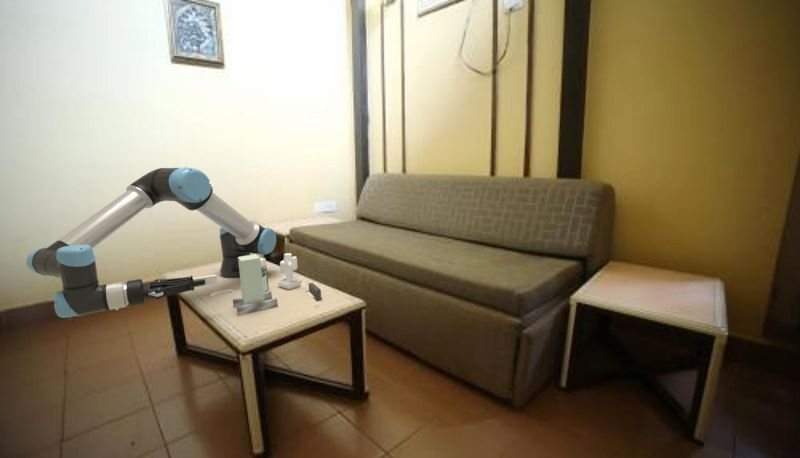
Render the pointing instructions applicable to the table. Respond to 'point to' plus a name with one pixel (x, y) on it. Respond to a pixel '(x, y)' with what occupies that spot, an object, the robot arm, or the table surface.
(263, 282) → the syrup box
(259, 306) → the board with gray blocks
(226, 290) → the phone case
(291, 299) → the table surface
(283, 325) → the table surface
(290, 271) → the figurine
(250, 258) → the block
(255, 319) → the table surface
